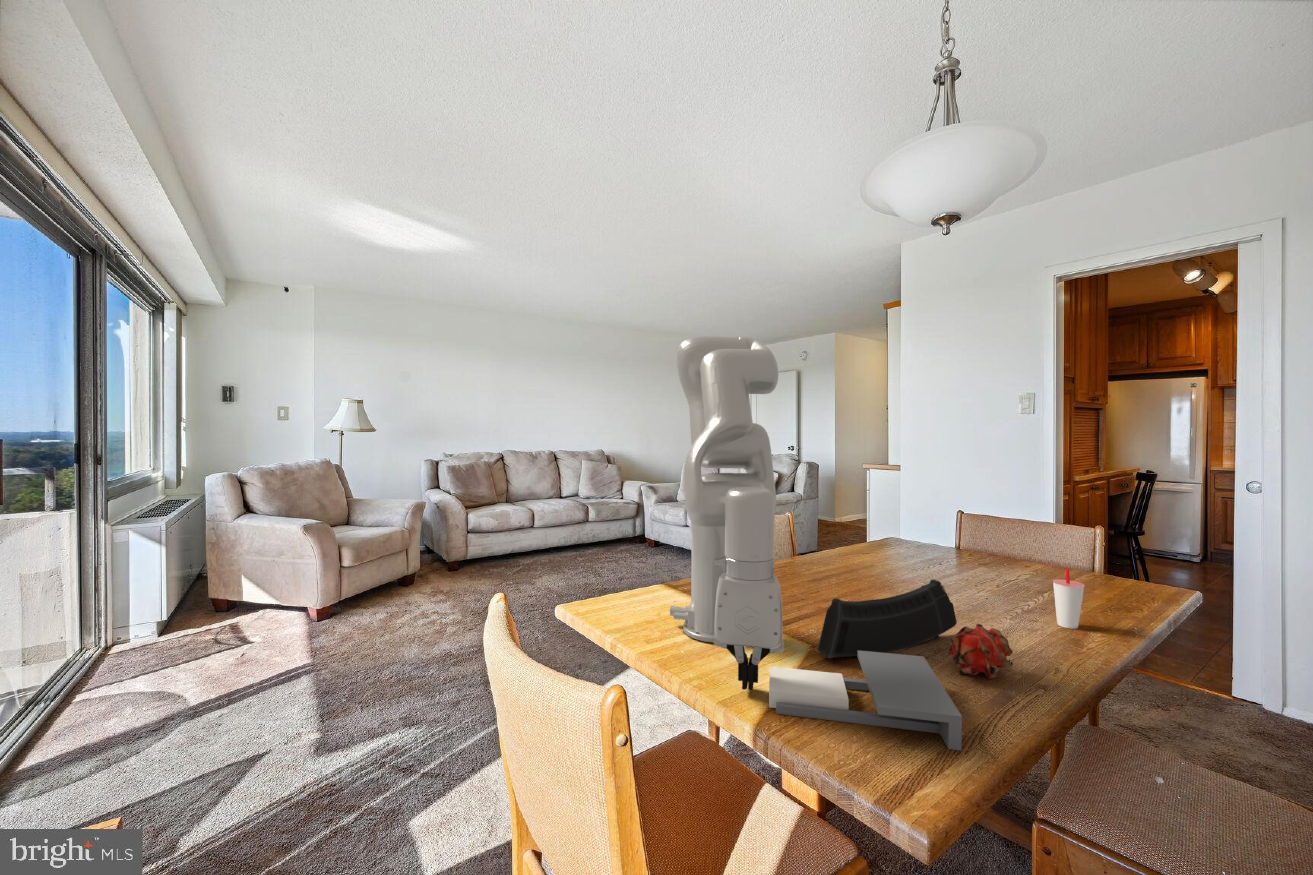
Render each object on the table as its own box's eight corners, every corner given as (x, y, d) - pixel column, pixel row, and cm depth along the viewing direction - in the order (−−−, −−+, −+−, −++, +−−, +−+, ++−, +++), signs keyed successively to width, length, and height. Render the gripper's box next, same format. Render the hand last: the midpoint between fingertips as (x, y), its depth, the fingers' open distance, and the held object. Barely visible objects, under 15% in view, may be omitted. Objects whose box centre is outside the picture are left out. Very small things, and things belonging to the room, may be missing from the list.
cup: (1046, 623, 112) (1047, 566, 111) (1059, 619, 114) (1061, 563, 114) (1075, 632, 107) (1077, 573, 107) (1089, 627, 109) (1090, 569, 109)
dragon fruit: (1007, 676, 91) (963, 701, 86) (966, 634, 97) (922, 655, 92) (1036, 649, 86) (991, 674, 81) (991, 606, 92) (946, 627, 87)
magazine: (818, 614, 90) (943, 547, 102) (806, 608, 94) (928, 544, 105) (841, 706, 93) (960, 631, 104) (827, 697, 96) (944, 625, 107)
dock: (775, 726, 73) (776, 695, 73) (776, 668, 90) (776, 642, 90) (961, 750, 68) (962, 716, 68) (923, 683, 85) (923, 656, 85)
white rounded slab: (769, 707, 78) (769, 690, 78) (769, 681, 86) (769, 666, 86) (848, 716, 76) (848, 699, 75) (841, 689, 83) (841, 673, 83)
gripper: (697, 571, 80) (696, 691, 80) (800, 578, 77) (798, 704, 77) (704, 559, 87) (703, 669, 88) (798, 564, 84) (797, 680, 84)
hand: (748, 685), depth 82 cm, fingers closed
